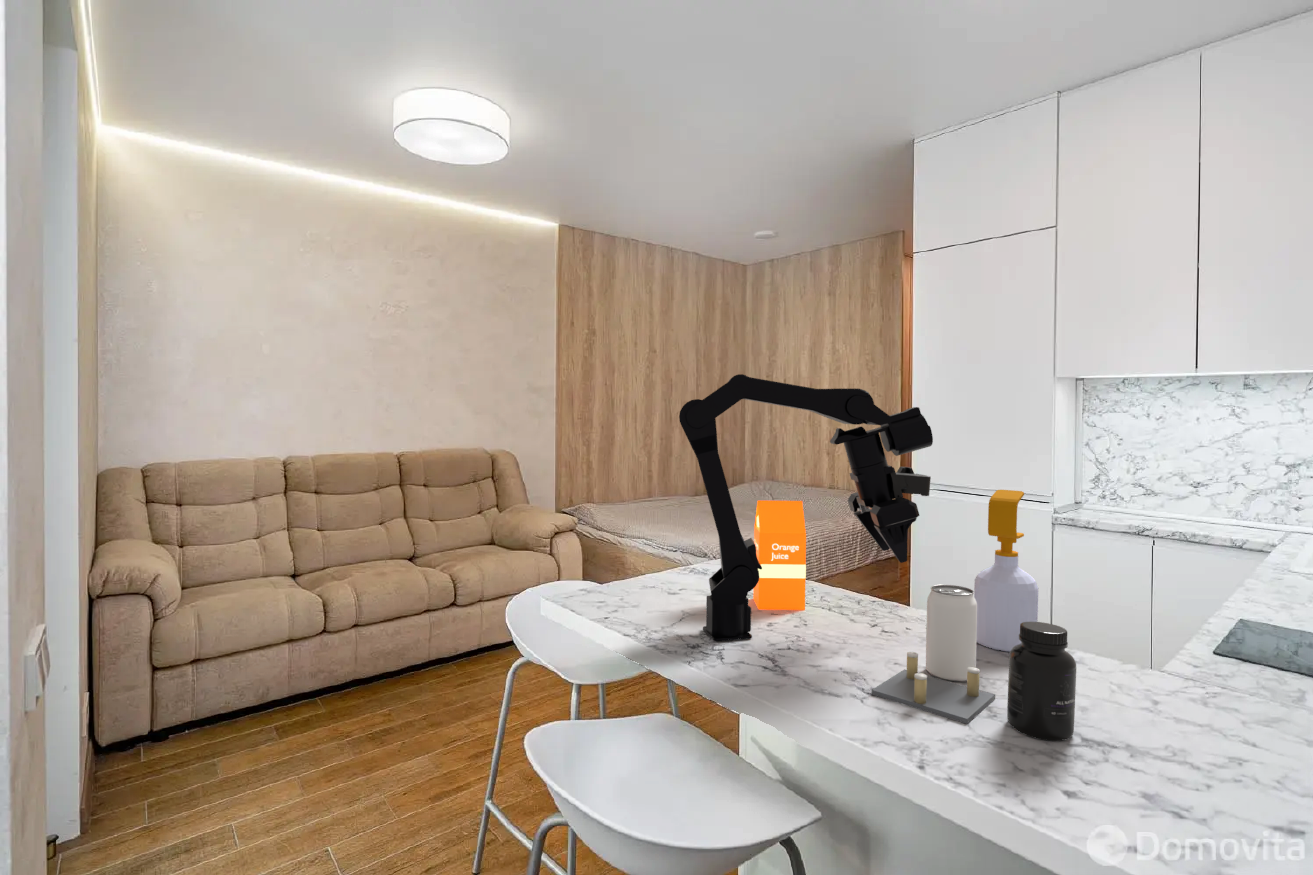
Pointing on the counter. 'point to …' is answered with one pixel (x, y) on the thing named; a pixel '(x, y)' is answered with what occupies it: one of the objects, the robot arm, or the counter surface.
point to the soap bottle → (1004, 580)
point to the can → (951, 632)
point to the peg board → (936, 692)
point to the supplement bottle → (1042, 683)
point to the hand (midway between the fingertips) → (894, 555)
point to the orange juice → (780, 555)
